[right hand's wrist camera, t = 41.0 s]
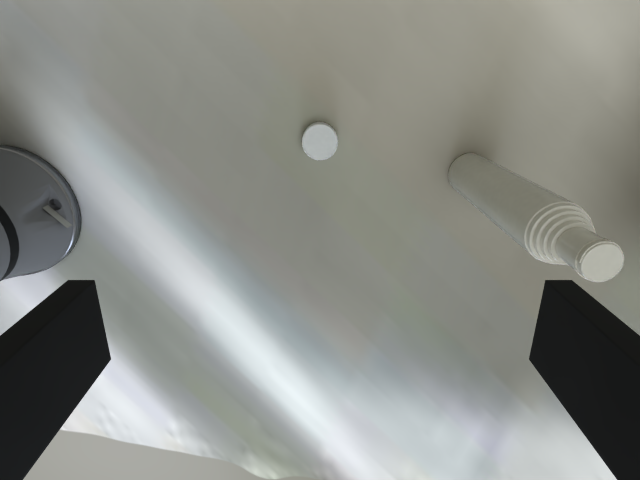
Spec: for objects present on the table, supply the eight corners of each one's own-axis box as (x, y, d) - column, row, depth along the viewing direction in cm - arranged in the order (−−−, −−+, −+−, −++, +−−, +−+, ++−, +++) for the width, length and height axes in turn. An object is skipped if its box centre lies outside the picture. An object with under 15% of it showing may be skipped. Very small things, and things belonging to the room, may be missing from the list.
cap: (296, 129, 48) (295, 132, 46) (329, 115, 47) (329, 117, 45) (310, 162, 49) (310, 166, 47) (342, 148, 49) (343, 152, 47)
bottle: (493, 155, 49) (656, 232, 25) (482, 195, 51) (625, 302, 27) (453, 150, 49) (579, 222, 25) (443, 190, 51) (553, 293, 27)
